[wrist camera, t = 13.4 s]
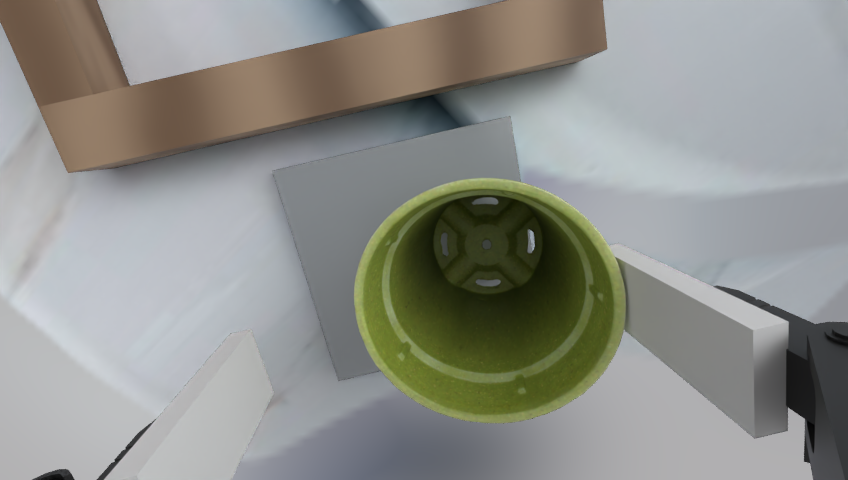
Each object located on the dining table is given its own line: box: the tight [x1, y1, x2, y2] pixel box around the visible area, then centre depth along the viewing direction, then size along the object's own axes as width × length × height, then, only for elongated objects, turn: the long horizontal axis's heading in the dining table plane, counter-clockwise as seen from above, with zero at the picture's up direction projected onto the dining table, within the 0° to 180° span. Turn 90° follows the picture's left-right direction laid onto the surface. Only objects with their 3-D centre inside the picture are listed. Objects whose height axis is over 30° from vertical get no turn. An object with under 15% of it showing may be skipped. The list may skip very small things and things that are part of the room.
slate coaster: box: [272, 116, 532, 381], centre depth 23 cm, size 13×13×1 cm
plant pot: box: [354, 178, 626, 423], centre depth 18 cm, size 9×9×9 cm
